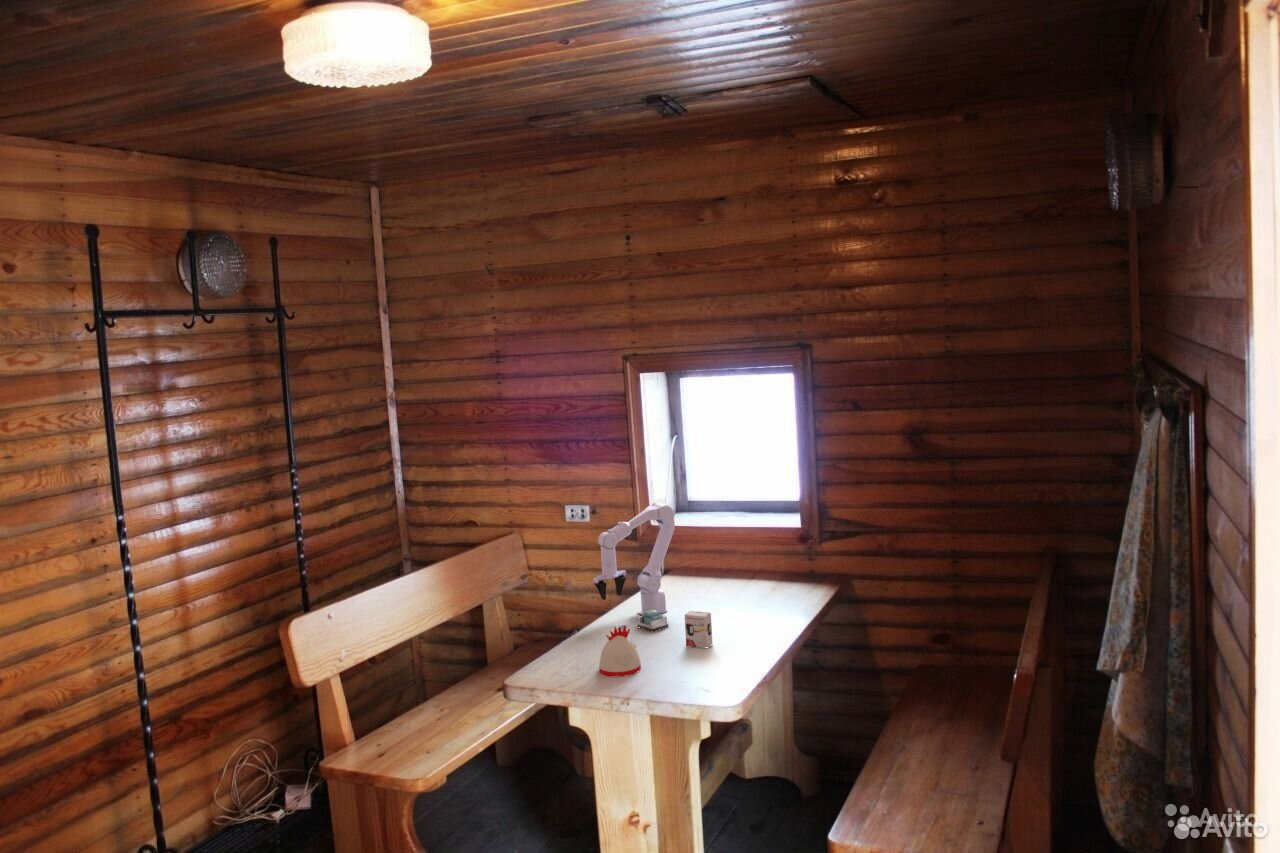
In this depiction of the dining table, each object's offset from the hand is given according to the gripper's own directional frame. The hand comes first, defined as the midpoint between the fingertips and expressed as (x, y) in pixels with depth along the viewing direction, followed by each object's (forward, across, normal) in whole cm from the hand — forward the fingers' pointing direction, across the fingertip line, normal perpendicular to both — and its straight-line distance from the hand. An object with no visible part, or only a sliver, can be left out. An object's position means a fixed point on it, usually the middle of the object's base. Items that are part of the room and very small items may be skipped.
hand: (611, 597), depth 398 cm
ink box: (+10, +1, -49) cm, 50 cm away
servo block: (+8, +4, -19) cm, 21 cm away
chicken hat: (+10, -33, -47) cm, 58 cm away
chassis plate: (+9, +4, -19) cm, 22 cm away
